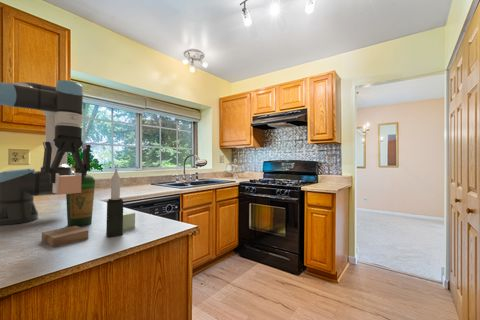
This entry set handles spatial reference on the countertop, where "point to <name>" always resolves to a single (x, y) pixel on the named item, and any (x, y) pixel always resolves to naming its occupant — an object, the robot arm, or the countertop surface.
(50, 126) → the robot arm
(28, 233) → the countertop surface
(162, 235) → the countertop surface
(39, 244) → the countertop surface
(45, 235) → the base block
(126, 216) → the brick
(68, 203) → the bottle
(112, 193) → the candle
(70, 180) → the brick
